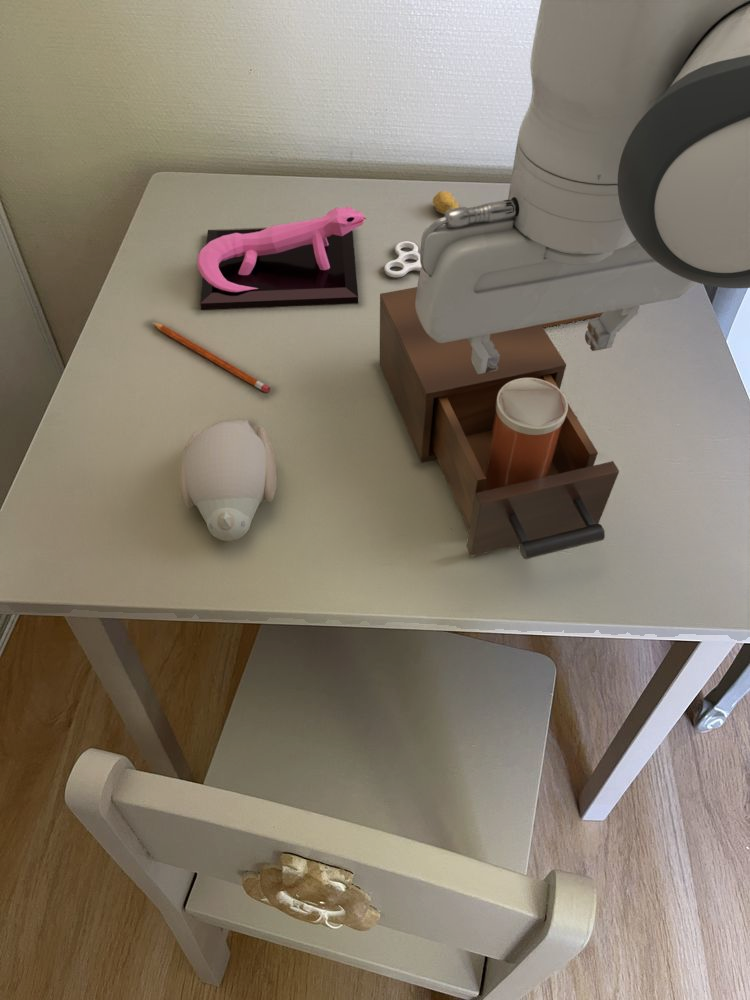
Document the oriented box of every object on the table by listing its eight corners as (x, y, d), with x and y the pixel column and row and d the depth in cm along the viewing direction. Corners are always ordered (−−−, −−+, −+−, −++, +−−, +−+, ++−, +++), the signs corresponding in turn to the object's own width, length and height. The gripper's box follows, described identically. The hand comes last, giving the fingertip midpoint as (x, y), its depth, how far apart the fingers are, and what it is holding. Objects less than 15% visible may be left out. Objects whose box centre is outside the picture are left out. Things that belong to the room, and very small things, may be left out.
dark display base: (370, 302, 91) (370, 249, 85) (199, 309, 90) (187, 256, 85) (363, 230, 100) (362, 176, 94) (207, 236, 99) (197, 182, 93)
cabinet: (548, 434, 79) (566, 364, 71) (420, 463, 76) (426, 393, 69) (495, 341, 87) (506, 270, 80) (379, 364, 85) (379, 293, 77)
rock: (455, 222, 101) (457, 202, 99) (427, 214, 102) (428, 194, 100) (465, 209, 103) (467, 189, 101) (437, 201, 104) (439, 181, 102)
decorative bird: (187, 560, 70) (169, 510, 64) (186, 429, 79) (171, 375, 73) (285, 548, 70) (277, 498, 64) (272, 420, 80) (264, 366, 74)
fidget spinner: (386, 280, 94) (386, 274, 93) (376, 248, 97) (376, 243, 97) (443, 273, 94) (443, 267, 94) (431, 242, 98) (431, 237, 98)
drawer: (619, 562, 68) (644, 510, 62) (487, 596, 66) (499, 545, 60) (539, 420, 79) (553, 363, 72) (422, 446, 77) (427, 389, 70)
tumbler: (529, 456, 74) (550, 371, 66) (554, 502, 71) (580, 420, 62) (472, 469, 73) (486, 385, 65) (495, 516, 70) (512, 434, 61)
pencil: (265, 394, 82) (264, 389, 82) (150, 326, 89) (148, 321, 88) (270, 390, 83) (270, 385, 82) (155, 322, 89) (154, 317, 89)
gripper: (440, 245, 45) (425, 411, 56) (750, 193, 48) (678, 358, 59) (407, 186, 48) (399, 353, 59) (697, 142, 52) (639, 307, 63)
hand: (541, 355), depth 59 cm, fingers open, 8 cm apart
